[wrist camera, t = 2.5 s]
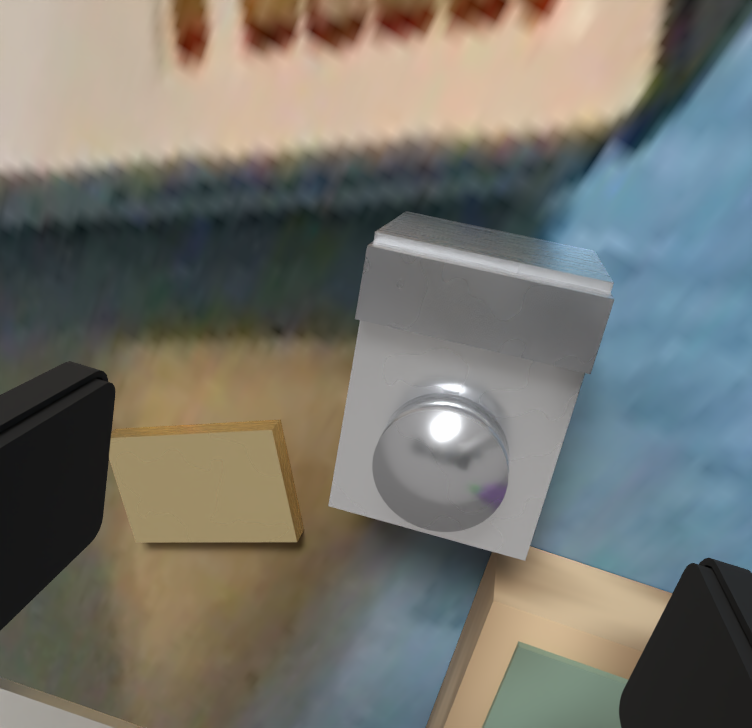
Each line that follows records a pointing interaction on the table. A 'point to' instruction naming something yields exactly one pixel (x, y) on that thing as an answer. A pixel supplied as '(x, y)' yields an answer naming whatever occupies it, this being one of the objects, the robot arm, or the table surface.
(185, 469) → the cover plate
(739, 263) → the table surface
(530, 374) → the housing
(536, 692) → the picture frame
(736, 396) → the table surface
